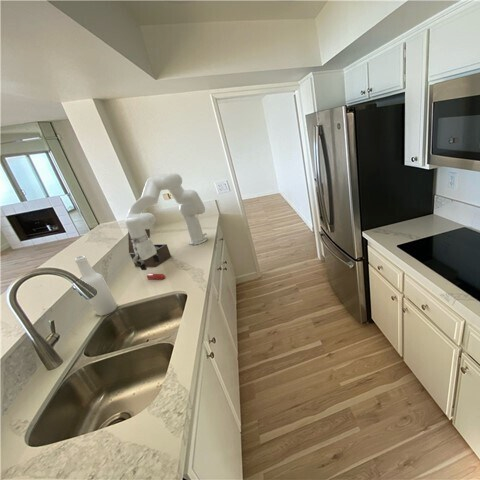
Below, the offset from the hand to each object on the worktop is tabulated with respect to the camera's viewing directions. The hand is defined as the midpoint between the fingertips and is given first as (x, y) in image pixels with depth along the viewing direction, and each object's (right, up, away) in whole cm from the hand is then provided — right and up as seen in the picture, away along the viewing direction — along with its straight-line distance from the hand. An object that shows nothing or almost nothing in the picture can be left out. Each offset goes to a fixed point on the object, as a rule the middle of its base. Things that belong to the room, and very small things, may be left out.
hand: (151, 265), depth 155 cm
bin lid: (-19, +14, +17) cm, 29 cm away
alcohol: (-7, -20, -22) cm, 31 cm away
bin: (-16, 0, +28) cm, 32 cm away
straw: (+1, -8, +4) cm, 9 cm away
